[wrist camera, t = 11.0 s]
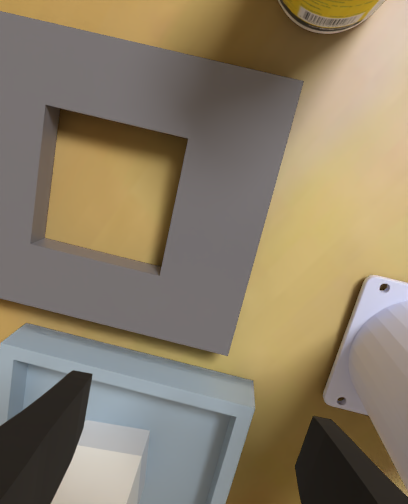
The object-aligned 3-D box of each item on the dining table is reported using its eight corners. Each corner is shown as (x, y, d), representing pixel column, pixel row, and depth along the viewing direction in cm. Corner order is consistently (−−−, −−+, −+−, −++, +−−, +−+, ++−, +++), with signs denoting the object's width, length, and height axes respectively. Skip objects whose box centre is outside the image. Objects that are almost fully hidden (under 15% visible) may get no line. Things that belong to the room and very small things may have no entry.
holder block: (298, 87, 18) (303, 81, 16) (228, 342, 21) (227, 356, 20) (-19, 14, 18) (-41, 1, 17) (-36, 276, 22) (-55, 284, 20)
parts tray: (253, 380, 22) (255, 408, 19) (200, 554, 25) (196, 595, 23) (26, 323, 22) (0, 342, 20) (6, 501, 26) (-18, 537, 23)
